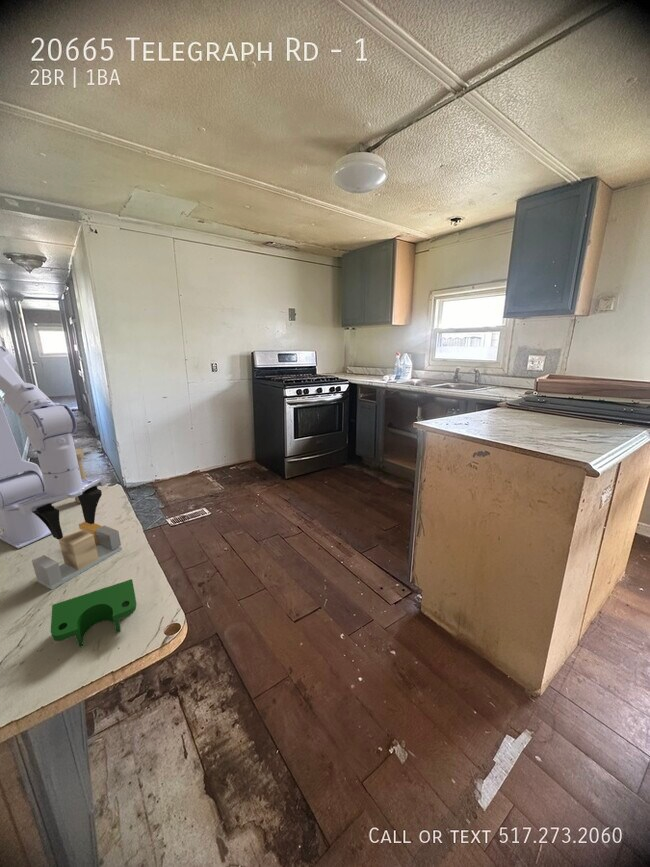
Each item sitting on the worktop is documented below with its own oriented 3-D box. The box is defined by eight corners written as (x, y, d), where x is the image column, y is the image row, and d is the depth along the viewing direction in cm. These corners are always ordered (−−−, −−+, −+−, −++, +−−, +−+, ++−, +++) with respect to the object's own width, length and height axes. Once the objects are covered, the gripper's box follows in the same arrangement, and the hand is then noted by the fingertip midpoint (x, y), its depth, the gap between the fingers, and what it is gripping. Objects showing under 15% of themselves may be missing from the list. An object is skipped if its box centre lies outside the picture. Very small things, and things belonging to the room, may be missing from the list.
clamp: (78, 665, 55) (37, 647, 49) (78, 632, 59) (40, 611, 53) (151, 618, 58) (120, 596, 52) (146, 590, 62) (117, 566, 57)
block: (64, 563, 71) (58, 538, 69) (84, 552, 74) (79, 528, 72) (78, 570, 68) (72, 545, 67) (98, 559, 72) (93, 534, 70)
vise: (37, 581, 66) (31, 560, 65) (107, 543, 79) (104, 525, 77) (51, 589, 64) (46, 568, 63) (121, 549, 76) (118, 531, 75)
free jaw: (81, 539, 79) (78, 522, 78) (90, 535, 81) (87, 518, 80) (113, 553, 75) (109, 535, 73) (121, 548, 76) (118, 531, 75)
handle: (73, 508, 94) (61, 457, 90) (72, 499, 99) (61, 451, 94) (93, 503, 97) (83, 454, 92) (92, 494, 102) (82, 447, 97)
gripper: (26, 487, 57) (44, 555, 61) (110, 459, 70) (121, 517, 74) (5, 479, 60) (24, 544, 64) (89, 454, 73) (101, 510, 77)
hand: (74, 529), depth 69 cm, fingers open, 5 cm apart
